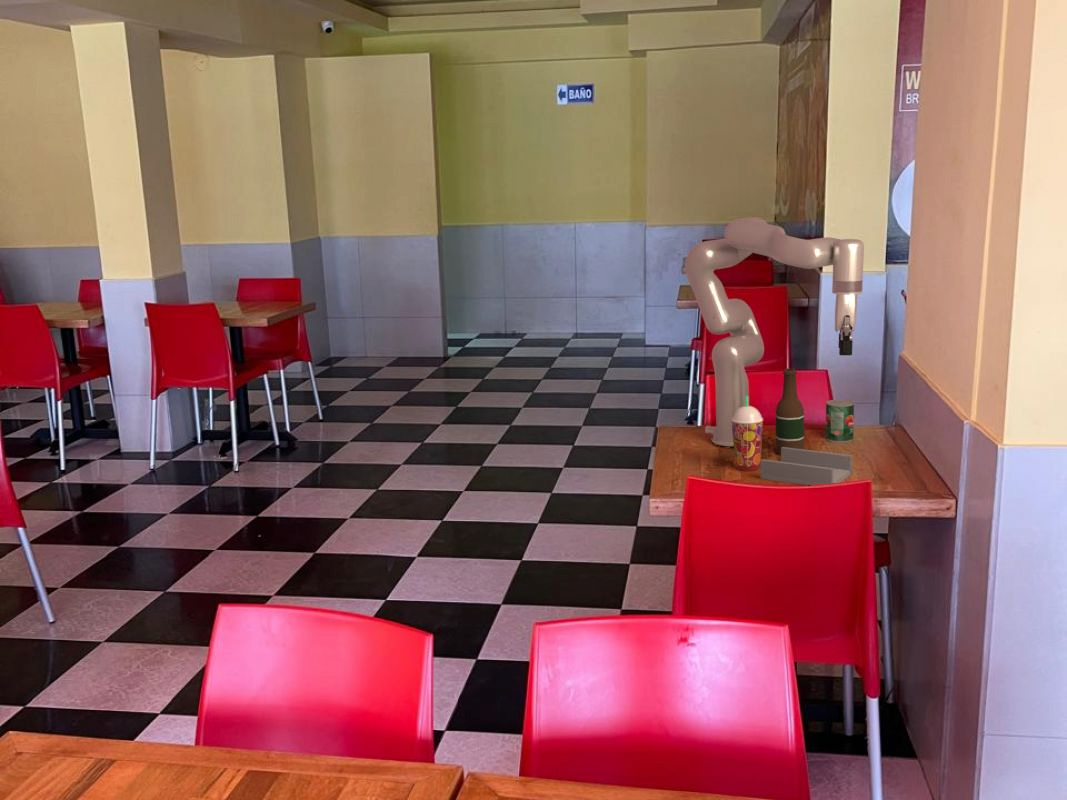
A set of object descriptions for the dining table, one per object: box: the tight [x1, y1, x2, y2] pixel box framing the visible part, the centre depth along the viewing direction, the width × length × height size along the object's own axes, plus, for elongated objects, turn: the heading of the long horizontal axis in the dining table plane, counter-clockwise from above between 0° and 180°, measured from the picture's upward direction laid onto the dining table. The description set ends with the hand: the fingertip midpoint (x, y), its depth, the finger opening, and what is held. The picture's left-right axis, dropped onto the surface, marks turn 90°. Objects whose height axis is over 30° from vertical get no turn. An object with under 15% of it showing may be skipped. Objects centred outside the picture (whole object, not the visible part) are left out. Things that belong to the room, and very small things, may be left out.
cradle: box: [759, 447, 853, 486], centre depth 263 cm, size 19×14×5 cm
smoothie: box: [731, 396, 764, 472], centre depth 271 cm, size 8×8×20 cm
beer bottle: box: [775, 368, 805, 456], centre depth 283 cm, size 8×8×24 cm
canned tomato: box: [825, 399, 855, 443], centre depth 295 cm, size 8×8×11 cm
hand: (845, 351), depth 267 cm, fingers open, 9 cm apart
